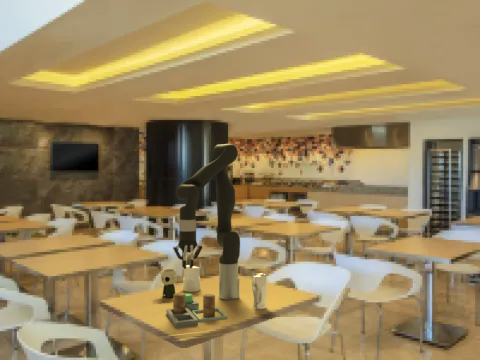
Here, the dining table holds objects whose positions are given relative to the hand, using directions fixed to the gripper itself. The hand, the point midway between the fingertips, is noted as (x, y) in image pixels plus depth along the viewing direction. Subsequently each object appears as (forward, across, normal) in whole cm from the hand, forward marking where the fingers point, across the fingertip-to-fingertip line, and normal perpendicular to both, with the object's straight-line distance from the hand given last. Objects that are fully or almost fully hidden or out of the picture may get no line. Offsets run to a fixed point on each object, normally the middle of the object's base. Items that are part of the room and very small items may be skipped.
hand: (187, 268), depth 204 cm
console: (+19, 0, 0) cm, 19 cm away
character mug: (+19, +3, -25) cm, 32 cm away
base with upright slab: (+19, -11, -34) cm, 41 cm away
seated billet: (+18, +6, +9) cm, 21 cm away
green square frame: (+19, -6, +13) cm, 24 cm away
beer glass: (+19, -32, +7) cm, 38 cm away
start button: (+17, 0, 0) cm, 17 cm away
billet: (+19, -6, +13) cm, 23 cm away
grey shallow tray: (+19, +6, +14) cm, 24 cm away
